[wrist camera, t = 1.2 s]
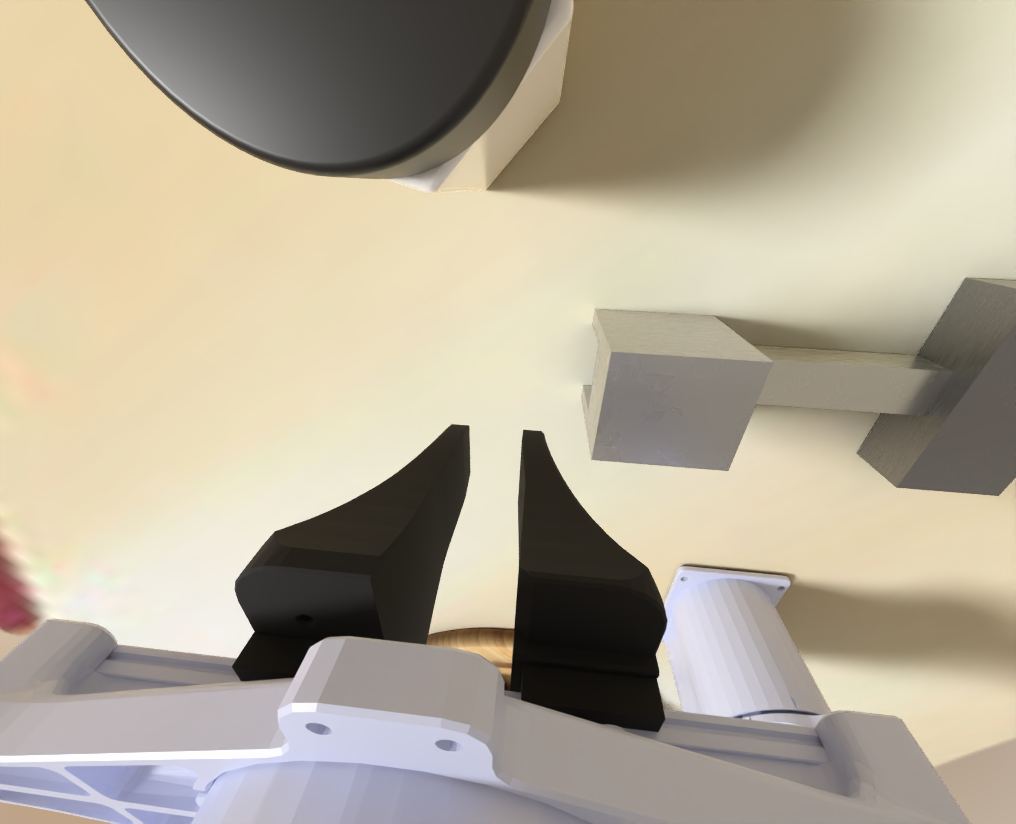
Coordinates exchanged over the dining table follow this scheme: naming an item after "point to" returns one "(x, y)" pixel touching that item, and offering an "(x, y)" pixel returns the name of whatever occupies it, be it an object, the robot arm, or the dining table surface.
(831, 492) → the dining table surface
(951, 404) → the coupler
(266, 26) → the jar
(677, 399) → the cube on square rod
